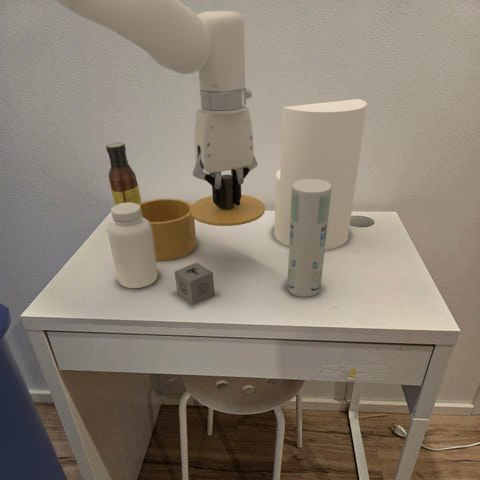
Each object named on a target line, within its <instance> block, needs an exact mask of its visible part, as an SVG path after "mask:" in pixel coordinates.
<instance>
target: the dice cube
mask: <svg viewBox="0 0 480 480" xmlns="http://www.w3.org/2000/svg"><path fill="white" fill-rule="evenodd" d="M174 278H175V285H176V293H177V295H178V296H179V297H181V298H182V299H184V300H185V301H186V302H187V303H189V304H190V305H192V306H194V305H197V304H198V303H201V302H203V301H206V300H207V299H209V298H212V297H213V296H215V281H214V271H212V270H210V269H208V268H207V267H206V266H204V265H202V264H201V263H199V262H198V261H196V262H193V263H191V264H189V265H186V266H184V267H181V268H179V269H176V270H174Z"/></svg>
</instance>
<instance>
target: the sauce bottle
mask: <svg viewBox="0 0 480 480" xmlns="http://www.w3.org/2000/svg"><path fill="white" fill-rule="evenodd" d="M105 148H106V153H107V154H108V158H109V164H110V169H109V171H108V180H109V185H110V191H111V195H112V200H113V203H114V206H115V205H117V204H121V203H136V204H140V203H143V202H142V198H141V192H140V187H139V184H138V180H137V177H136V173H135V171H134V170H133V169H132V167H131V166H130V164H129V161H128V158H127V154H126V153H127V152H126V150H127V148H126V145H125V143H124V142H123V141H122V142H121V141H115V142H110V143H107V144H106V145H105Z"/></svg>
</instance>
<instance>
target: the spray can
mask: <svg viewBox="0 0 480 480" xmlns="http://www.w3.org/2000/svg"><path fill="white" fill-rule="evenodd" d="M331 189H332V187H331V184H330V183H328V182H327V181H324V180H319V179H302V180H298V181H296V182H294V183H293V184H292V196H291V218H290V241H289V246H288V262H287V263H288V264H287V265H288V266H287V290H288V292H289V293H290V294H292V295H294V296H297V297H302V298H309V297H313V296H316V295H317V294H318V293H319V292H320V289H321V285H322V278H323V277H322V275H323V267H324V266H323V265H324V258H325V251H326V250H325V242H326V233H327V224H328V216H329V207H330V198H331Z"/></svg>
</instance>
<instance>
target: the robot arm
mask: <svg viewBox="0 0 480 480" xmlns="http://www.w3.org/2000/svg"><path fill="white" fill-rule="evenodd" d="M54 1H55V2H56V3H58V4H60V5H61V6H63V7H64V8H66V9H67V10H69V11H70V12H73V13H74V14H76V15H78V16H79V17H81V18H84V19H85V20H88V21H90V22H92V23H96V24H98V25H99V26H102V27H105V28H106V29H109V30H110V31H112V32H114V33H115V34H118V35H120V36H121V37H122V38H124V39H126V40H128V41H129V42H131V43H132V44H134V45H135V46H137V47H139V48H140V49H142V50H143V51H145V52H146V53H147V54H148V56H149V57H150V58H151V59H152V61H153V62H155V63H156V64H157V65H159V66H161V67H162V68H164V69H168V70H171V71H174V72H176V73H178V74H181V75H190V74H195V73H197V72H198V79H199V81H198V82H199V96H200V109H197V110H196V114H195V121H194V122H195V123H194V161H195V165H194V167H193V171H192V176H193V177H195V178H196V179H199V180H202V181H205V182H207V183H208V184H209V185H210V186H211V193H212V196H213V202H214V204H215V205H216V206H218V207H219V208H220V209H224V208H225V199H224V189H223V188H222V187H221V175H222V172H225V171H230V175H232V176H233V187H234V204H235V205H237V206H238V205H240V199H241V195H242V185H243V184H244V181H245V179H246V177H247V176H248V175H249V173H250V172H251V171H252V170H254V169H256V168H257V167H258V161H257V159H256V157H255V153H254V152H255V151H254V148H255V147H254V132H253V125H252V119H251V114H250V109H249V107H248V106H246V105H247V100H248V99H251V98H252V97H253V93H252V90H251V89H247V87H246V72H245V71H246V67H245V66H246V65H245V63H246V61H245V54H246V53H245V21H244V17H243V16H242V14H241V13H240V12H238V11H237V10H212V11H210V10H209V11H202V12H200V13H195V12H194V11H193V10H191V8H189V7H187V5H185V4H184V3H183V2H181V1H180V0H54Z"/></svg>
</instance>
